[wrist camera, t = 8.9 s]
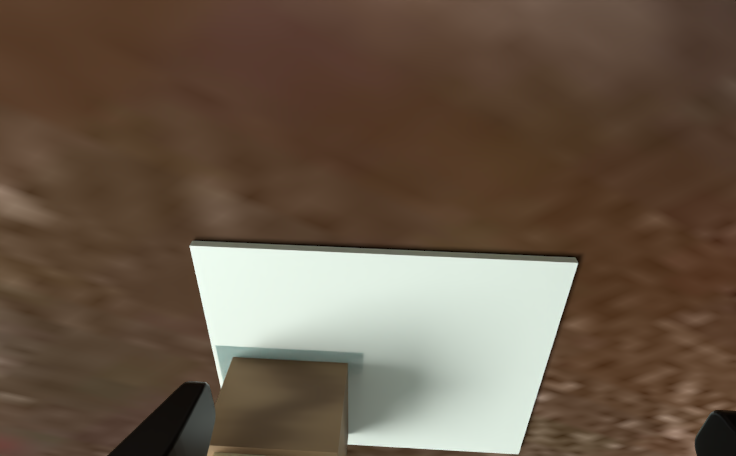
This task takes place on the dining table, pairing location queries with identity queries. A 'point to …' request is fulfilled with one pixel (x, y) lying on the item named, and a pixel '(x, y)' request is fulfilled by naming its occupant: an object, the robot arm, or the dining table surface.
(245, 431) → the walnut block
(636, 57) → the dining table surface
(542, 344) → the white board
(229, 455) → the maple cube
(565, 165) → the dining table surface
